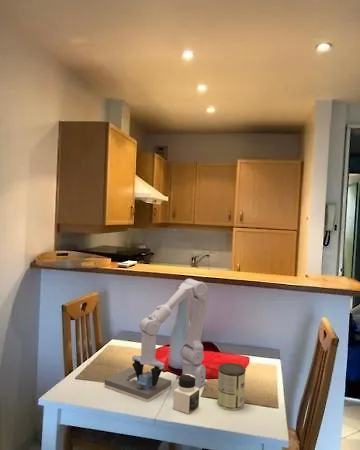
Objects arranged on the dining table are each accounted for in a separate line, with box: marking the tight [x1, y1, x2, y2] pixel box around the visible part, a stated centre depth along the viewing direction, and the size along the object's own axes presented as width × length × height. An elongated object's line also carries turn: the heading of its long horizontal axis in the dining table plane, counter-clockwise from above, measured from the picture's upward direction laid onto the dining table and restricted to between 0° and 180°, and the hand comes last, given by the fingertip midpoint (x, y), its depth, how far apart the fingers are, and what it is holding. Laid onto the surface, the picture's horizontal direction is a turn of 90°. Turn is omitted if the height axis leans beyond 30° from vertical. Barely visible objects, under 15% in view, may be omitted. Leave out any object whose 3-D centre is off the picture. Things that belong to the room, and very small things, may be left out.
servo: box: [136, 370, 153, 389], centre depth 163 cm, size 4×10×5 cm, turn 148°
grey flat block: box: [104, 367, 172, 403], centre depth 169 cm, size 22×16×3 cm
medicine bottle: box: [172, 374, 200, 415], centre depth 153 cm, size 7×7×12 cm
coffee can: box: [217, 362, 247, 411], centre depth 157 cm, size 10×10×14 cm
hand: (147, 382), depth 164 cm, fingers open, 7 cm apart
